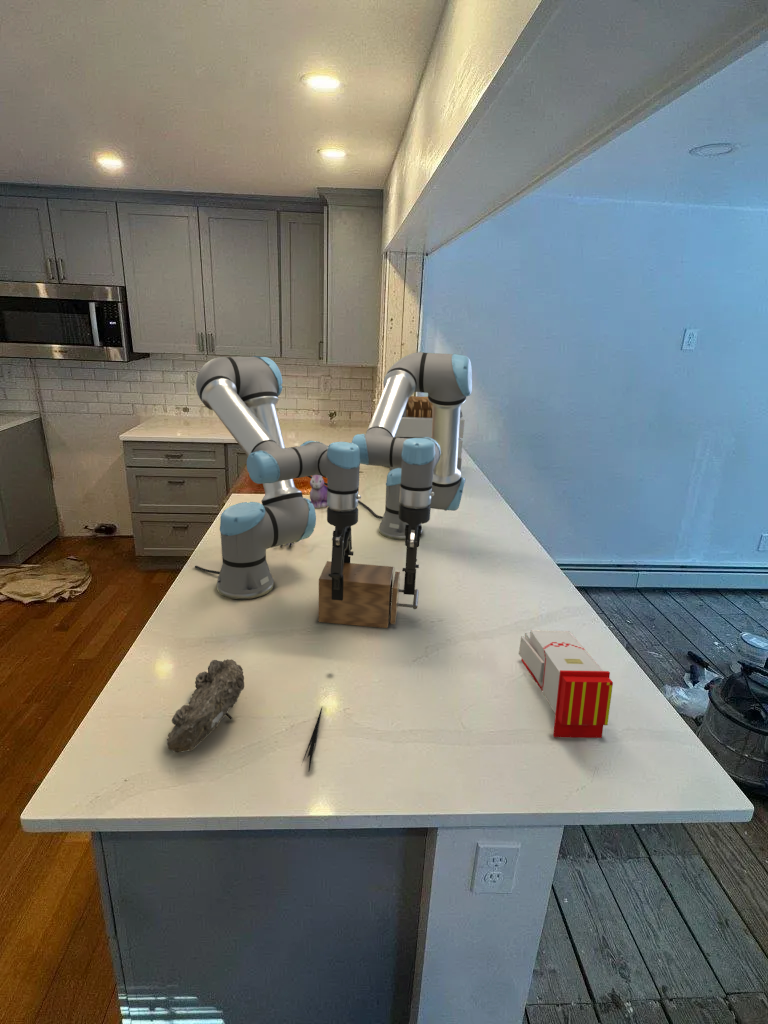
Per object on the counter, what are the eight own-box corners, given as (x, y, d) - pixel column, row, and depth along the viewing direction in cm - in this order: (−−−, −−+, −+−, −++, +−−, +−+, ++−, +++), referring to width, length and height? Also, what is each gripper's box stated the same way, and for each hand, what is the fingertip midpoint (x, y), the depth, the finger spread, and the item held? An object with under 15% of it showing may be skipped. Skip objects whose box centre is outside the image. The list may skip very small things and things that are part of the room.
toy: (565, 614, 131) (622, 678, 102) (559, 667, 134) (613, 744, 105) (513, 613, 131) (555, 677, 102) (509, 666, 134) (548, 744, 104)
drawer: (417, 607, 149) (420, 573, 146) (416, 626, 140) (418, 590, 137) (337, 600, 151) (338, 566, 147) (331, 618, 142) (331, 582, 139)
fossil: (192, 660, 117) (244, 628, 112) (224, 691, 120) (276, 661, 115) (142, 746, 98) (202, 712, 93) (182, 779, 101) (242, 748, 96)
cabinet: (391, 607, 151) (393, 566, 146) (387, 628, 141) (390, 585, 137) (326, 601, 152) (327, 561, 148) (318, 622, 142) (318, 578, 138)
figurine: (313, 510, 219) (313, 472, 214) (304, 501, 227) (304, 465, 222) (335, 507, 223) (336, 470, 218) (326, 499, 231) (326, 463, 226)
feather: (331, 679, 122) (336, 673, 122) (307, 777, 96) (313, 769, 95) (324, 675, 122) (329, 669, 121) (298, 772, 95) (304, 764, 95)
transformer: (382, 463, 289) (386, 382, 275) (445, 464, 293) (451, 384, 279) (390, 482, 257) (394, 392, 243) (460, 483, 261) (468, 394, 247)
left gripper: (350, 525, 126) (348, 612, 133) (364, 493, 147) (361, 570, 155) (317, 522, 126) (317, 609, 134) (335, 491, 148) (334, 568, 155)
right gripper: (430, 514, 128) (423, 607, 136) (431, 497, 140) (424, 583, 148) (397, 511, 129) (392, 604, 137) (401, 495, 141) (396, 580, 149)
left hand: (341, 588), depth 144 cm, fingers closed on cabinet, 10 cm apart
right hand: (409, 593), depth 142 cm, fingers closed
